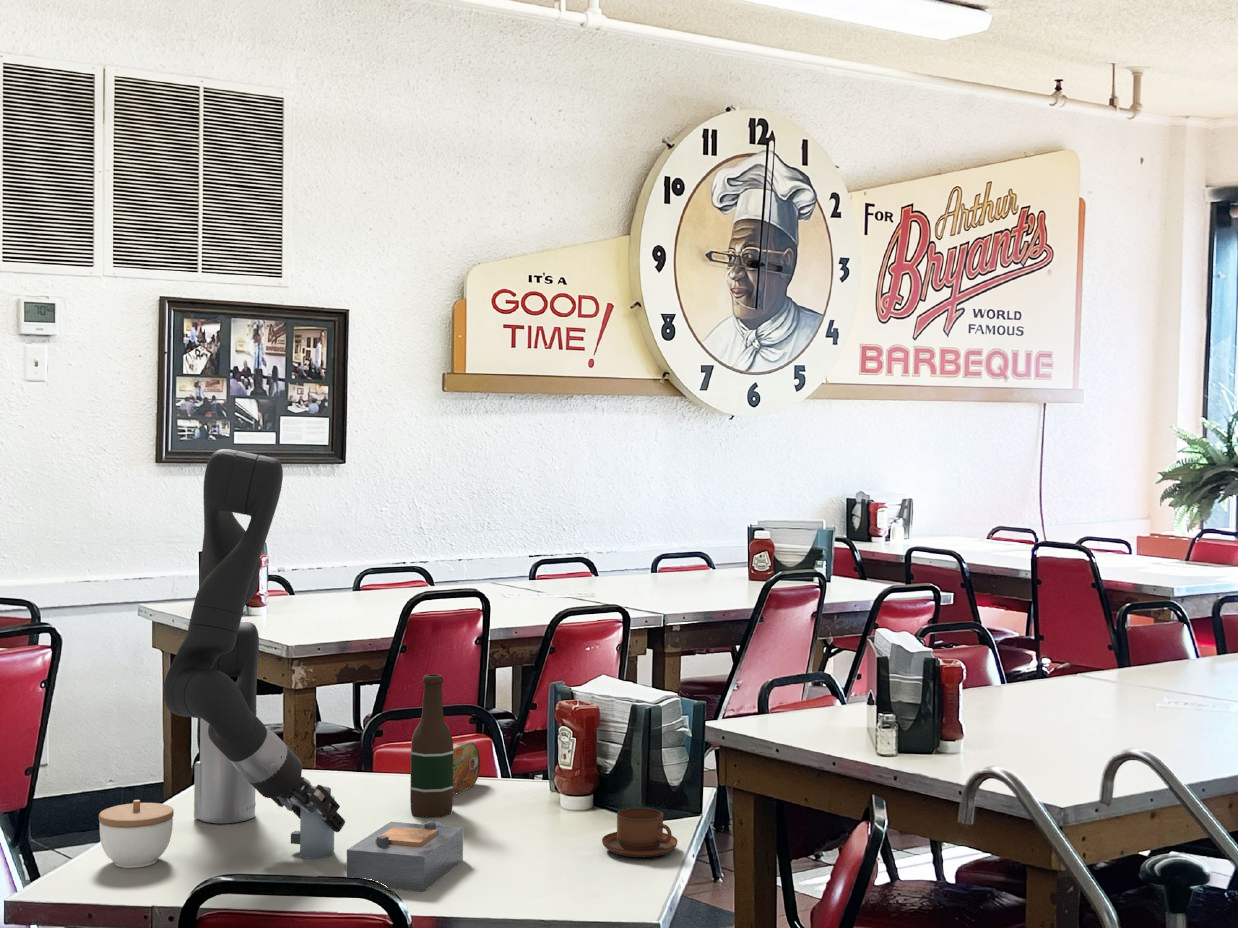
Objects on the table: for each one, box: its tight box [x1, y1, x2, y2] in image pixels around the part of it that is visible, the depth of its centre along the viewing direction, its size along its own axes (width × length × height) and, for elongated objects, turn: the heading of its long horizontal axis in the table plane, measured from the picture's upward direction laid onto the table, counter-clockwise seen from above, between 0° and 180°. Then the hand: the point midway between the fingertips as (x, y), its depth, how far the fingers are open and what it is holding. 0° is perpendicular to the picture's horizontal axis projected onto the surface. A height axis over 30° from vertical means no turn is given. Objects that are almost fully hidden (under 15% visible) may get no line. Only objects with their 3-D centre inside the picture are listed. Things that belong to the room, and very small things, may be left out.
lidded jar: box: [98, 799, 175, 869], centre depth 209 cm, size 11×11×9 cm
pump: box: [290, 785, 336, 859], centre depth 215 cm, size 7×5×10 cm
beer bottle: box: [409, 673, 454, 819], centre depth 240 cm, size 8×8×24 cm
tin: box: [453, 741, 481, 796], centre depth 256 cm, size 15×3×8 cm, turn 159°
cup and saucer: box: [601, 807, 679, 858], centre depth 218 cm, size 12×12×6 cm
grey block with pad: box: [346, 820, 464, 892], centre depth 208 cm, size 12×21×6 cm, turn 166°
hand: (325, 822), depth 216 cm, fingers open, 6 cm apart
